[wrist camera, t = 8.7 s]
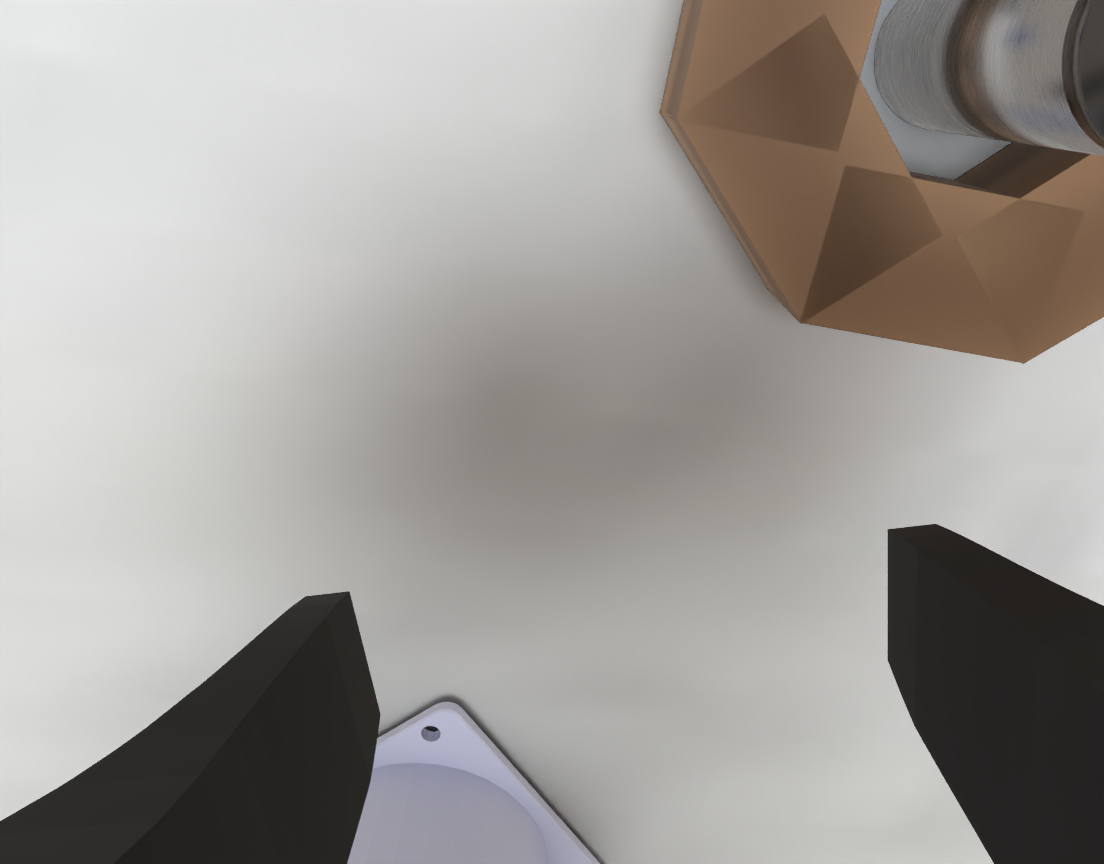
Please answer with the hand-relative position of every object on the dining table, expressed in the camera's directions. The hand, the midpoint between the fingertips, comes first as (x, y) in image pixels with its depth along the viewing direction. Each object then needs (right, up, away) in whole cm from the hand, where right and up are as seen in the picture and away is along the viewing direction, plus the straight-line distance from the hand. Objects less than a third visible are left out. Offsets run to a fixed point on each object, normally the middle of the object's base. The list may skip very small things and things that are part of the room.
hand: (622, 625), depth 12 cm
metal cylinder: (+7, +10, +7) cm, 14 cm away
